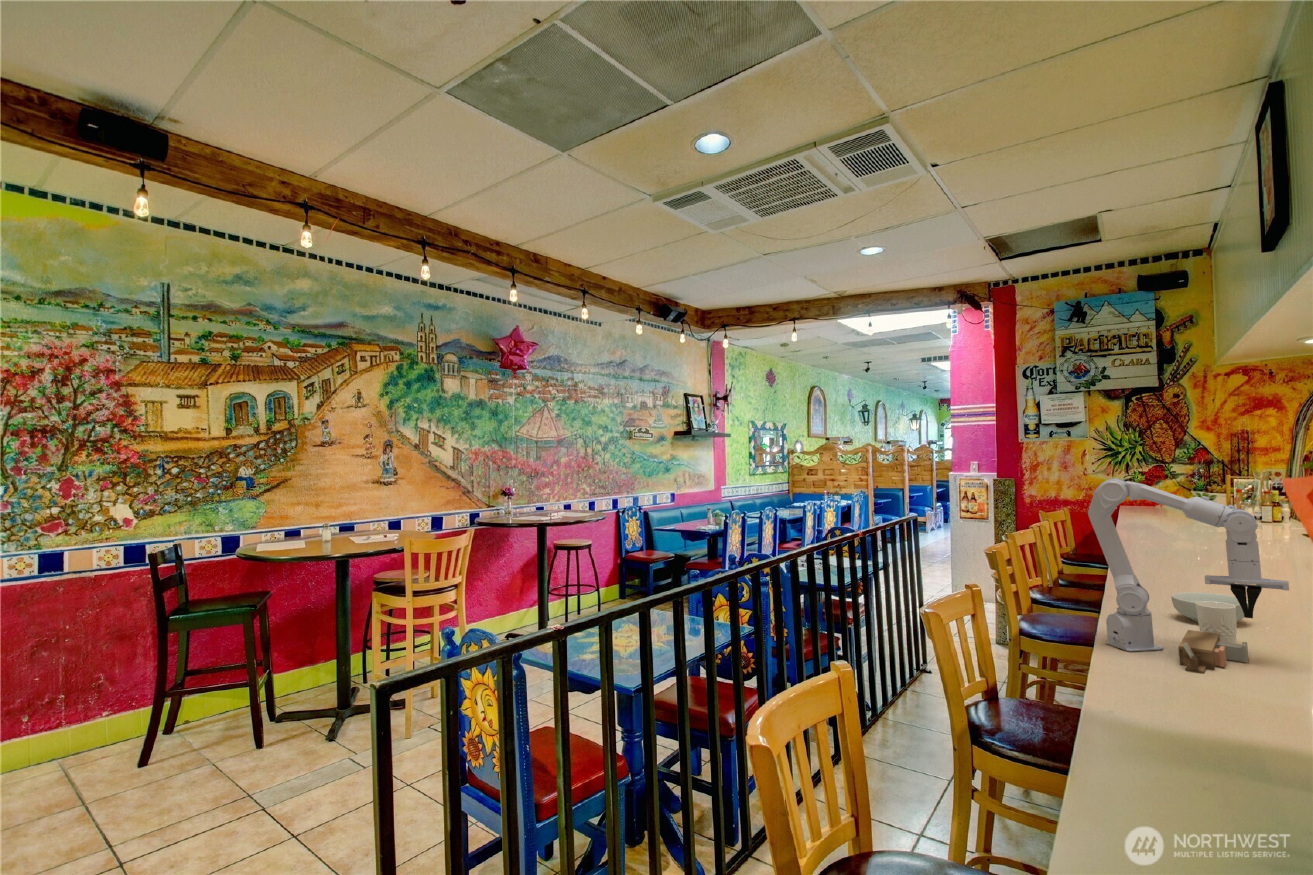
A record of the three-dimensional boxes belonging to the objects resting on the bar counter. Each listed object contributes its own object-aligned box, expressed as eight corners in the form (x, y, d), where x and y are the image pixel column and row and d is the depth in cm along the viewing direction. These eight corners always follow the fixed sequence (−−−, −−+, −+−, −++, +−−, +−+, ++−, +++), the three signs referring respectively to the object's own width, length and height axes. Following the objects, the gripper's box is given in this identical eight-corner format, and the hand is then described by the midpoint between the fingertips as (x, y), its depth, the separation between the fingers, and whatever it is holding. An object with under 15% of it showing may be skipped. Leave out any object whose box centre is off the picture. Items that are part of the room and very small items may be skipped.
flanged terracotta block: (1226, 662, 145) (1224, 646, 145) (1224, 667, 142) (1223, 650, 142) (1189, 657, 150) (1187, 641, 150) (1187, 661, 147) (1185, 645, 147)
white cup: (1247, 647, 156) (1243, 608, 156) (1211, 647, 157) (1208, 608, 158) (1225, 639, 164) (1222, 601, 164) (1191, 638, 165) (1188, 601, 166)
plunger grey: (1248, 658, 147) (1247, 642, 148) (1247, 662, 144) (1245, 646, 145) (1211, 653, 152) (1209, 637, 152) (1209, 657, 149) (1208, 641, 149)
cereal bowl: (1161, 620, 184) (1159, 596, 185) (1191, 612, 191) (1188, 589, 192) (1233, 632, 169) (1230, 606, 169) (1262, 623, 176) (1260, 598, 176)
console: (1221, 651, 154) (1219, 633, 154) (1212, 674, 139) (1210, 654, 139) (1189, 647, 158) (1188, 629, 158) (1177, 669, 143) (1176, 649, 143)
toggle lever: (1199, 660, 143) (1187, 641, 144) (1198, 663, 141) (1186, 644, 142) (1194, 661, 143) (1182, 643, 145) (1193, 664, 142) (1181, 645, 143)
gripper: (1286, 560, 145) (1292, 618, 144) (1204, 555, 155) (1209, 609, 155) (1286, 564, 140) (1292, 624, 139) (1201, 559, 150) (1206, 615, 150)
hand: (1248, 617), depth 147 cm, fingers closed
